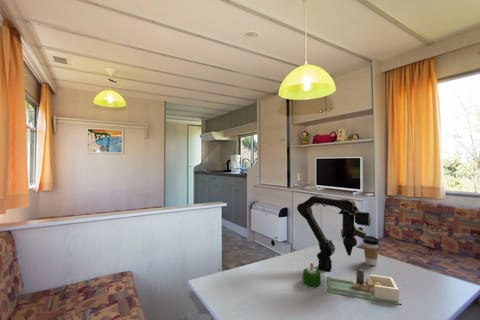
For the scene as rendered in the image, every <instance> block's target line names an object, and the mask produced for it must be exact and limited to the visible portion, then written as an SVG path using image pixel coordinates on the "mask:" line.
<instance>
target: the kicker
mask: <svg viewBox="0 0 480 320" xmlns="http://www.w3.org/2000/svg"><path fill="white" fill-rule="evenodd" d="M355 272H356V273H355V274H356V276H355V277H356V279H352V280H353V288H354V289H357V290H363V291H368V292H369V293H372V294H374V285H373V282H372V280H371V278H370V276H369V277H368V276H366V277H365V271H364V269H362V268H356V271H355Z"/></svg>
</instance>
